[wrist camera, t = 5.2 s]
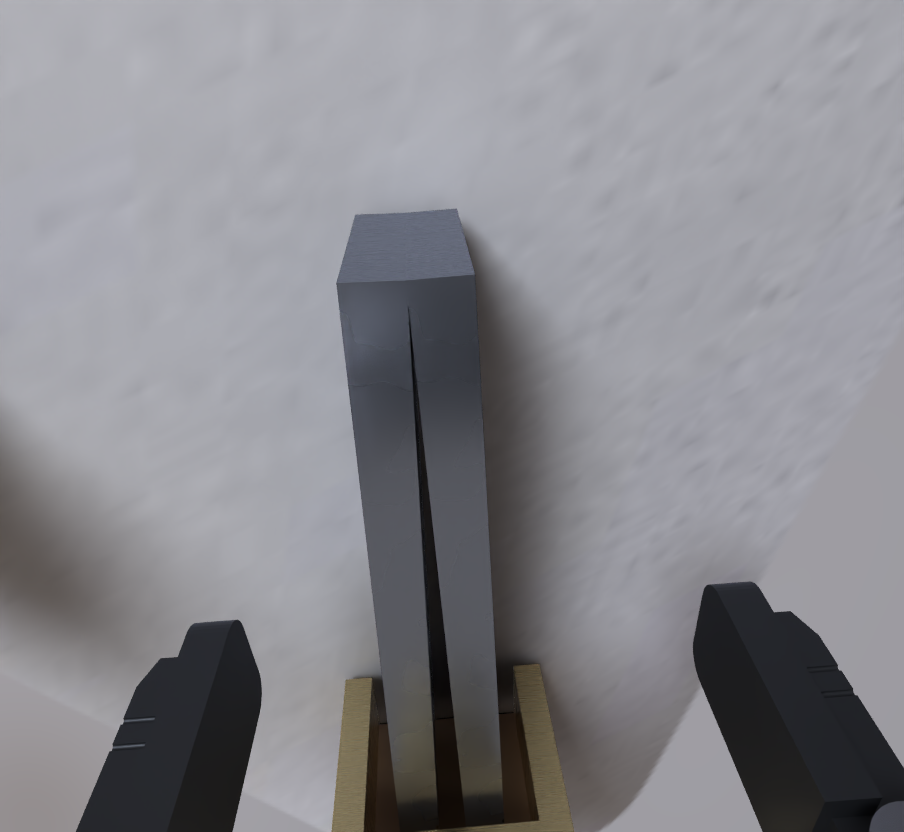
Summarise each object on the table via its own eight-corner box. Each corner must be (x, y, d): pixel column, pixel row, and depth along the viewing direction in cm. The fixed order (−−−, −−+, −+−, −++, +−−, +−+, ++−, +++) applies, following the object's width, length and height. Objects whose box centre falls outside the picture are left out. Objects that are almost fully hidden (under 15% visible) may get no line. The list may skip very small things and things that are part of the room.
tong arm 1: (489, 713, 21) (505, 847, 18) (458, 716, 21) (468, 850, 18) (457, 208, 13) (474, 274, 9) (406, 212, 13) (406, 280, 9)
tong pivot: (520, 767, 23) (545, 932, 19) (382, 779, 23) (377, 948, 19) (521, 712, 22) (549, 879, 18) (372, 725, 22) (364, 896, 17)
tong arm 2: (434, 718, 21) (440, 853, 18) (403, 720, 21) (403, 855, 17) (406, 212, 13) (406, 280, 9) (355, 214, 13) (336, 282, 9)
